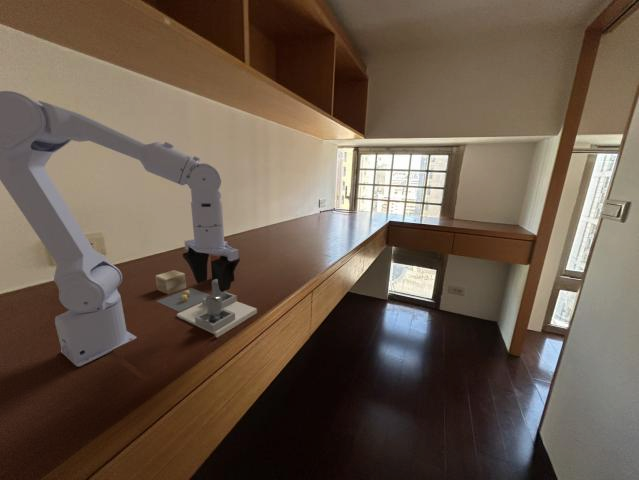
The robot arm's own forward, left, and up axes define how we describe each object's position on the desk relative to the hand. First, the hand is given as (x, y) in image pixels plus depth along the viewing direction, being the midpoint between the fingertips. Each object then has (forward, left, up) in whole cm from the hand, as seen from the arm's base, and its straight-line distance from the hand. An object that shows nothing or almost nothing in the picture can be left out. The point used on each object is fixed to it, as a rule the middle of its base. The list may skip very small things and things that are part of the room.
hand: (213, 285), depth 56 cm
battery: (+18, +19, -10) cm, 28 cm away
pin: (0, 0, -9) cm, 9 cm away
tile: (+4, +17, -10) cm, 20 cm away
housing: (+5, +26, -10) cm, 28 cm away
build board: (+3, +3, -10) cm, 11 cm away
